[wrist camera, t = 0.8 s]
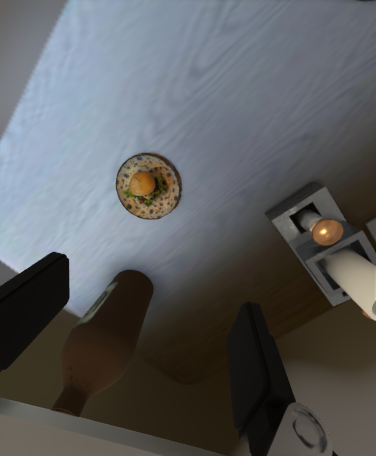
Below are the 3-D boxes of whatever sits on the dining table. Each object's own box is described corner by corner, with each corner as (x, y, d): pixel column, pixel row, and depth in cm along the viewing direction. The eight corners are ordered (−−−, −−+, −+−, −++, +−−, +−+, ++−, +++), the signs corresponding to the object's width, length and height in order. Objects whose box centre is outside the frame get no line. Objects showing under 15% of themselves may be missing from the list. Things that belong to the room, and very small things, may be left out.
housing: (264, 213, 35) (280, 230, 28) (311, 182, 33) (342, 191, 25) (321, 292, 41) (347, 323, 33) (366, 270, 38) (405, 300, 30)
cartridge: (337, 234, 32) (417, 286, 20) (351, 256, 33) (434, 317, 21) (308, 250, 33) (366, 308, 21) (322, 270, 34) (384, 335, 22)
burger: (115, 206, 38) (95, 219, 31) (124, 144, 33) (102, 142, 27) (173, 224, 38) (166, 240, 31) (190, 164, 34) (185, 168, 27)
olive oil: (164, 284, 44) (117, 435, 21) (141, 311, 47) (78, 465, 24) (124, 258, 42) (23, 391, 19) (103, 288, 46) (-2, 430, 23)
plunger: (305, 200, 32) (335, 215, 25) (316, 216, 33) (348, 235, 25) (285, 213, 33) (308, 231, 26) (296, 228, 34) (321, 250, 26)
